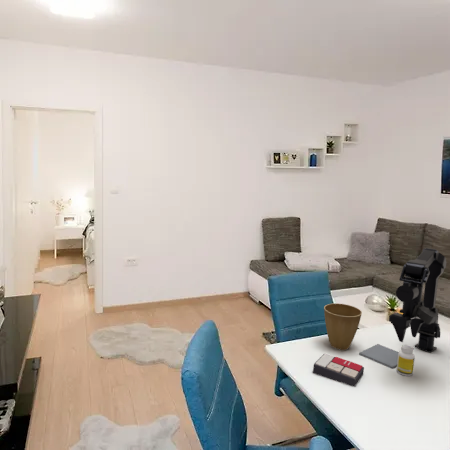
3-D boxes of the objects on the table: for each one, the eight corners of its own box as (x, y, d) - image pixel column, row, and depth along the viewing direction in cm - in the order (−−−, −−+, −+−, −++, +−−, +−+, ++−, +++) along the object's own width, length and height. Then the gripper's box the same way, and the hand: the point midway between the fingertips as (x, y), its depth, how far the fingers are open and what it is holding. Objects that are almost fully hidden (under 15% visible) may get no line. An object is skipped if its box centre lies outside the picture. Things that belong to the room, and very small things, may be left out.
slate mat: (377, 345, 164) (377, 343, 164) (410, 358, 153) (411, 356, 153) (359, 354, 155) (359, 352, 155) (392, 368, 145) (392, 366, 145)
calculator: (355, 377, 131) (313, 362, 139) (354, 389, 132) (312, 373, 140) (364, 365, 140) (324, 351, 148) (363, 376, 141) (323, 361, 149)
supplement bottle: (414, 377, 139) (417, 351, 138) (398, 375, 140) (401, 349, 139) (410, 370, 144) (413, 344, 143) (395, 368, 145) (397, 343, 144)
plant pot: (314, 342, 166) (316, 305, 163) (340, 336, 172) (343, 301, 170) (338, 357, 152) (342, 318, 150) (366, 350, 159) (369, 313, 157)
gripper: (422, 307, 127) (417, 353, 129) (447, 300, 139) (442, 342, 140) (390, 298, 136) (385, 341, 137) (416, 292, 147) (412, 332, 149)
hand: (407, 339), depth 141 cm, fingers open, 9 cm apart
